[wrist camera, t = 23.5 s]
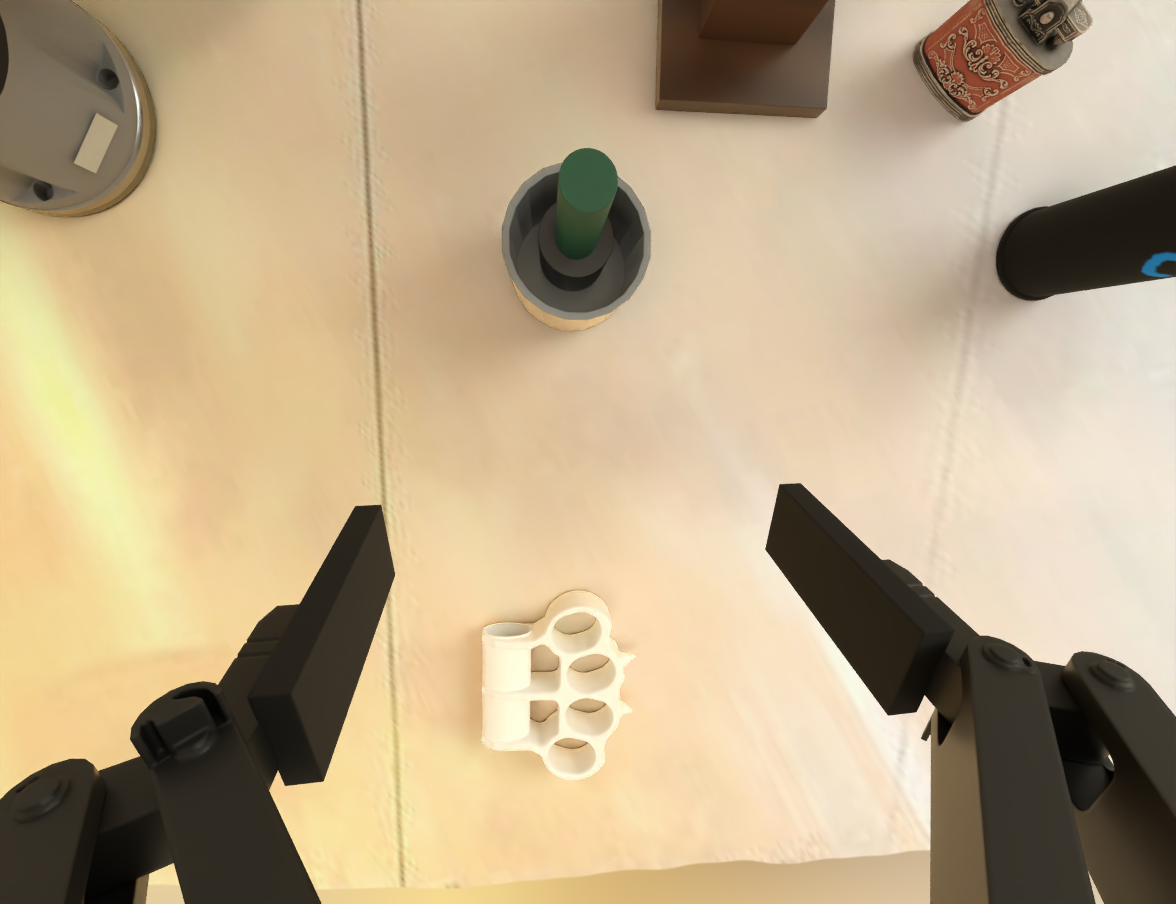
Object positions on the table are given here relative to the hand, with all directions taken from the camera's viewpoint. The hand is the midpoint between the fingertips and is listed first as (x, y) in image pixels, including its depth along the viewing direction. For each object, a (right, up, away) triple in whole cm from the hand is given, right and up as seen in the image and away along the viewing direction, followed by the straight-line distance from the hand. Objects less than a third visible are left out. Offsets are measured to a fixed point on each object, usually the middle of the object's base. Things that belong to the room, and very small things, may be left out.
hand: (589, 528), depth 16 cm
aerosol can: (+42, +21, +29) cm, 55 cm away
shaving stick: (-1, +15, +17) cm, 22 cm away
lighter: (+31, +35, +26) cm, 53 cm away
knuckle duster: (-3, -20, +32) cm, 38 cm away
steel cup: (-1, +18, +26) cm, 31 cm away
